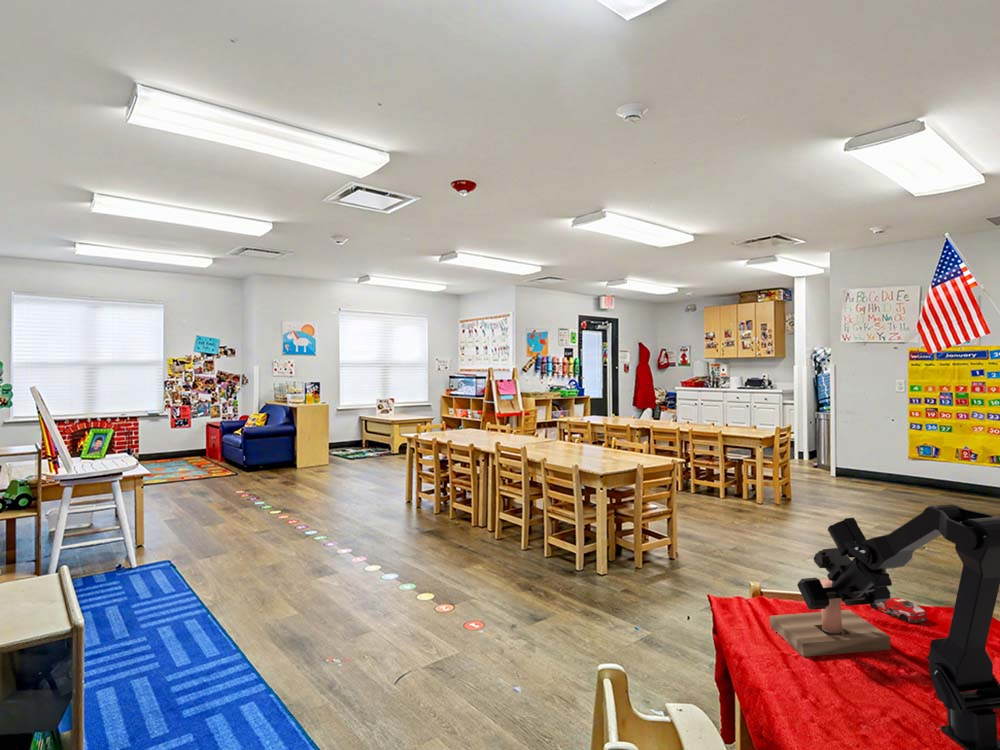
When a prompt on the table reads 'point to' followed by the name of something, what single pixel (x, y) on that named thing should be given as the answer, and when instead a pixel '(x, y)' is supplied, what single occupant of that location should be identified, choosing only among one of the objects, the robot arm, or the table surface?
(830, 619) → the peg
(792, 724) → the table surface
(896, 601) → the race car
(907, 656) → the table surface
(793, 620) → the board
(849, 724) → the table surface
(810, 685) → the table surface
